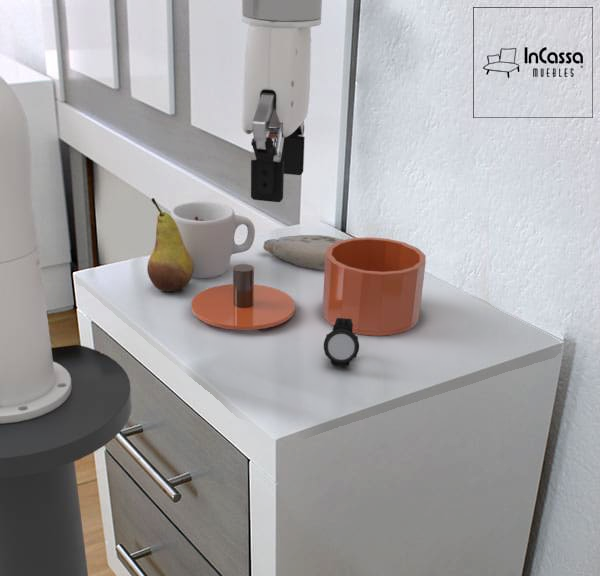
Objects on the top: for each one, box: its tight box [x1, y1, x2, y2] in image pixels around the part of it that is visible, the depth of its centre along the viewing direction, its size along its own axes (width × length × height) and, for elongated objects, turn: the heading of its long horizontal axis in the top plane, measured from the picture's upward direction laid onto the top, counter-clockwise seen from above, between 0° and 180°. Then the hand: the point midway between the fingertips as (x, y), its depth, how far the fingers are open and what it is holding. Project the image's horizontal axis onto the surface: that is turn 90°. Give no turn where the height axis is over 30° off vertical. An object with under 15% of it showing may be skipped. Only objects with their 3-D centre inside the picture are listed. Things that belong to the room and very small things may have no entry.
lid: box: [190, 263, 296, 331], centre depth 105 cm, size 12×12×6 cm
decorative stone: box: [262, 234, 344, 271], centre depth 119 cm, size 6×16×3 cm, turn 73°
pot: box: [322, 236, 427, 337], centre depth 105 cm, size 11×11×8 cm
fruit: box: [146, 197, 194, 292], centre depth 108 cm, size 6×6×12 cm
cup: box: [170, 201, 256, 279], centre depth 115 cm, size 11×8×8 cm
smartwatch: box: [323, 318, 360, 367], centre depth 95 cm, size 4×5×5 cm
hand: (278, 186), depth 94 cm, fingers open, 9 cm apart
